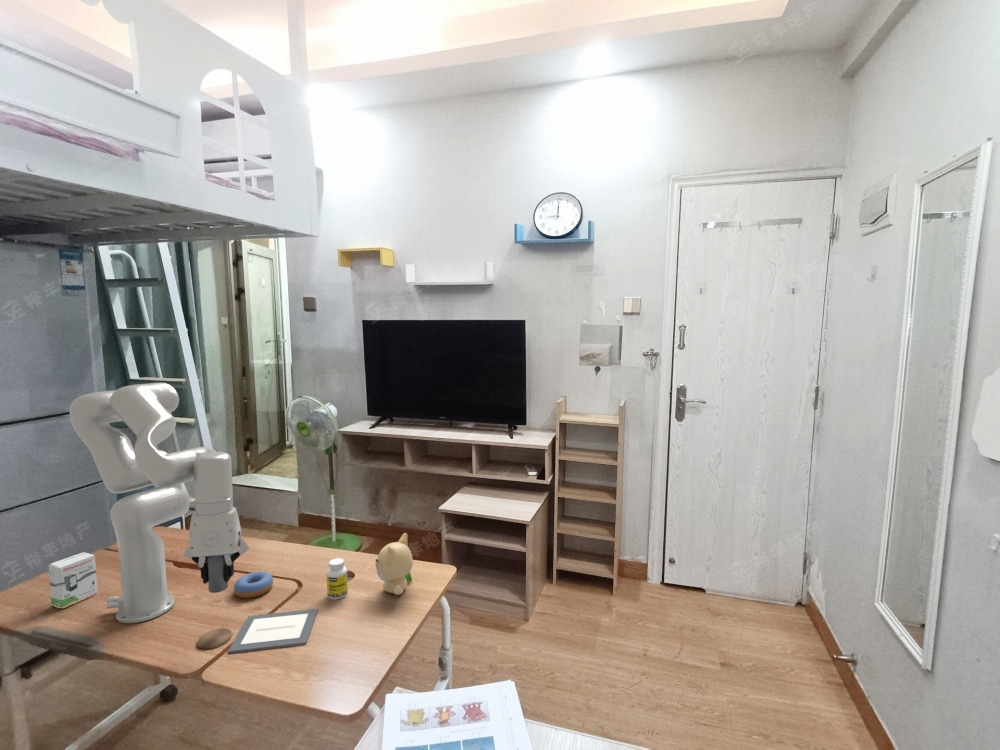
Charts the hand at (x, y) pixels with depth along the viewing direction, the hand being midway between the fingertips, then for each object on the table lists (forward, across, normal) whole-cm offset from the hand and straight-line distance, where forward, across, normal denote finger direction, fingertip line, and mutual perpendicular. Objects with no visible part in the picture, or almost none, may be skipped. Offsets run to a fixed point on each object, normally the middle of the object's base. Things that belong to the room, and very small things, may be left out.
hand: (217, 579), depth 114 cm
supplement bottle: (+15, +25, +14) cm, 32 cm away
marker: (+2, 0, 0) cm, 2 cm away
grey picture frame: (+14, +13, 0) cm, 19 cm away
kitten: (+14, +41, +13) cm, 46 cm away
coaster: (+15, -1, -1) cm, 15 cm away
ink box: (+16, -45, +26) cm, 55 cm away
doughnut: (+15, +2, +21) cm, 26 cm away
